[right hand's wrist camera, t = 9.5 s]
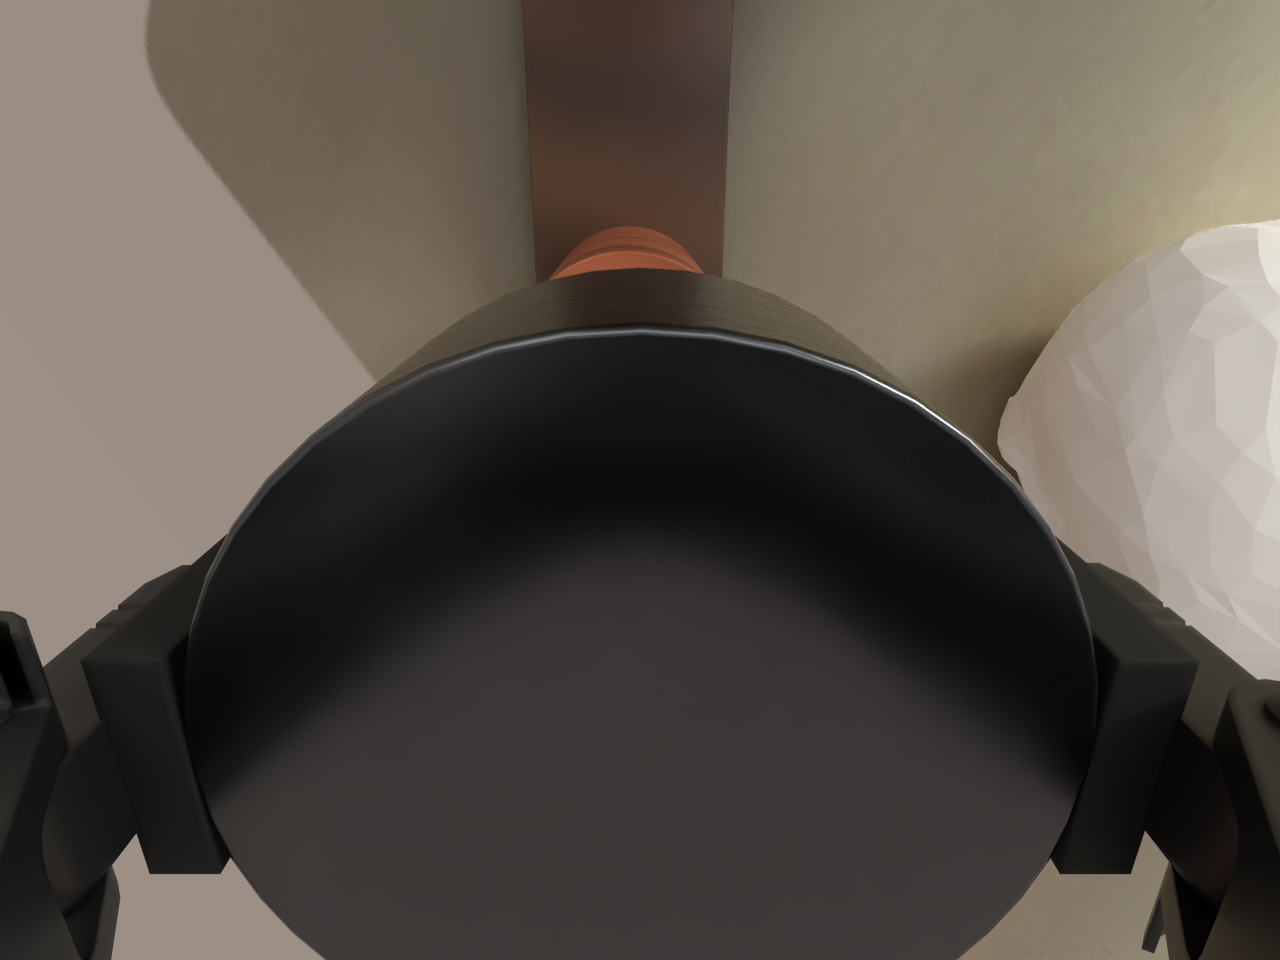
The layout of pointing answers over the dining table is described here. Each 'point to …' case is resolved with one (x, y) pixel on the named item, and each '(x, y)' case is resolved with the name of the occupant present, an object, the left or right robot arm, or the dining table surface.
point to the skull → (1169, 433)
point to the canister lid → (640, 650)
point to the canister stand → (627, 133)
